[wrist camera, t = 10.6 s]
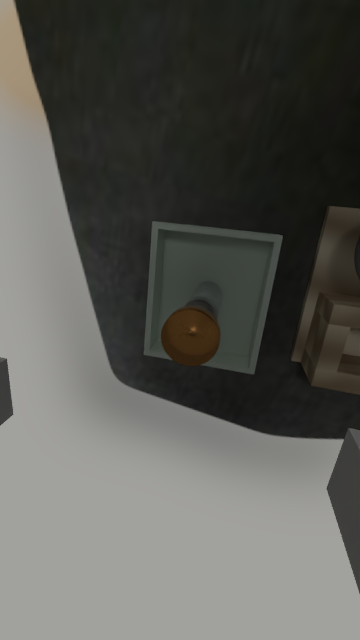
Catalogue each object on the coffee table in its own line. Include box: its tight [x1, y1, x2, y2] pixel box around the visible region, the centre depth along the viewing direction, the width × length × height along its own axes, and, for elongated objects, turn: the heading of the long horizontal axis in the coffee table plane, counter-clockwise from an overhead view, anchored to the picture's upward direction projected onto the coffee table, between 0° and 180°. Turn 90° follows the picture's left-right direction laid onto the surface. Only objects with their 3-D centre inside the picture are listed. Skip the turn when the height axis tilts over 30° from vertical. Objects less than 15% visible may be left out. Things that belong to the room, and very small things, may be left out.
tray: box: [144, 221, 283, 375], centre depth 31 cm, size 14×12×4 cm
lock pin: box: [161, 281, 222, 366], centre depth 26 cm, size 4×4×13 cm
